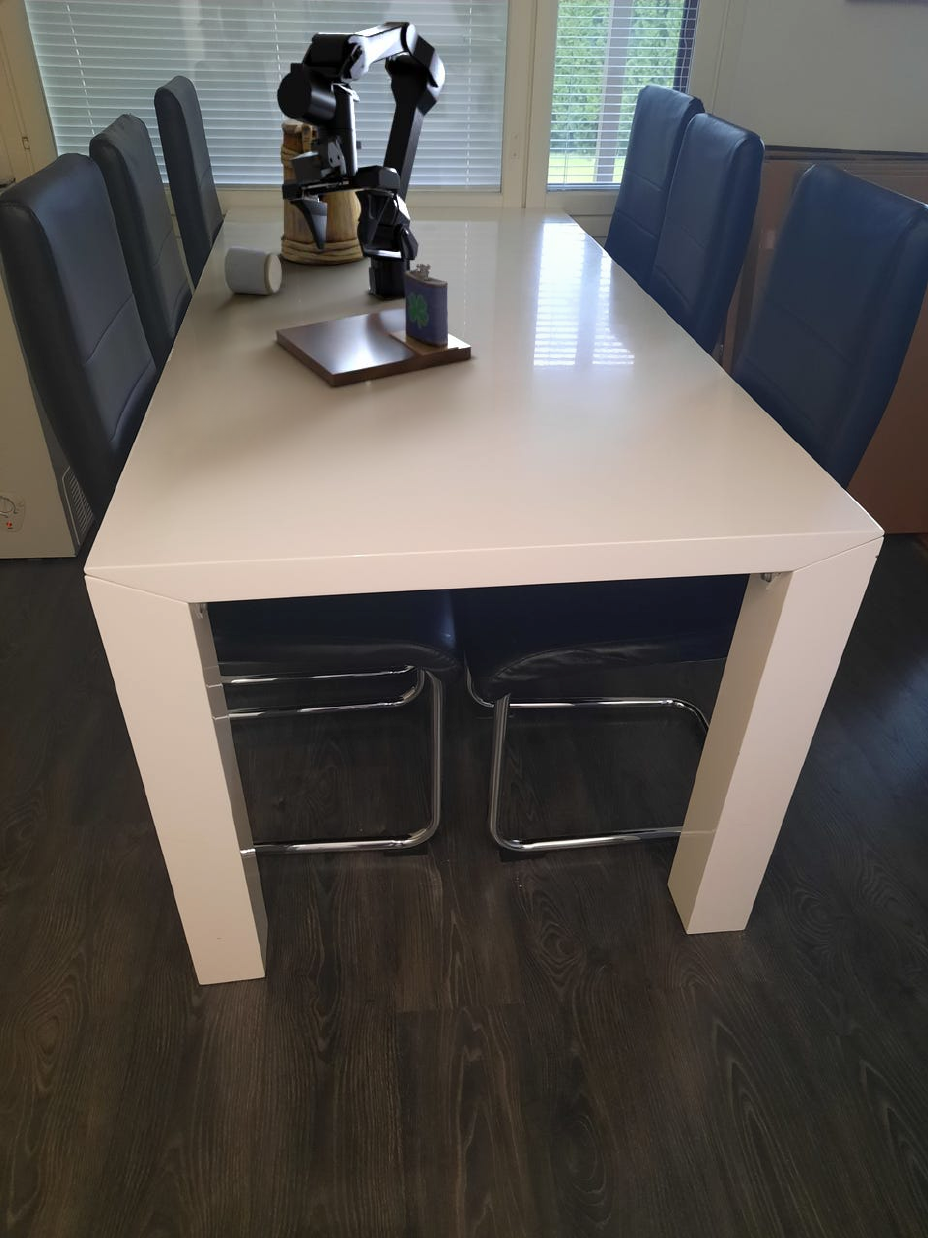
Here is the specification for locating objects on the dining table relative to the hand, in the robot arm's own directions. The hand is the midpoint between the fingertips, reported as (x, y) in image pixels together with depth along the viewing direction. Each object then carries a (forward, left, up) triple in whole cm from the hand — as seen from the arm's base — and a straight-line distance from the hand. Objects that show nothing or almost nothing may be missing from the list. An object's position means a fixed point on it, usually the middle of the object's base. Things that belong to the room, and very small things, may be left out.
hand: (343, 247), depth 131 cm
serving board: (+2, +12, -12) cm, 17 cm away
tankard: (-14, -43, -12) cm, 47 cm away
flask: (-4, +18, -10) cm, 21 cm away
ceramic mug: (+6, -27, -12) cm, 30 cm away
